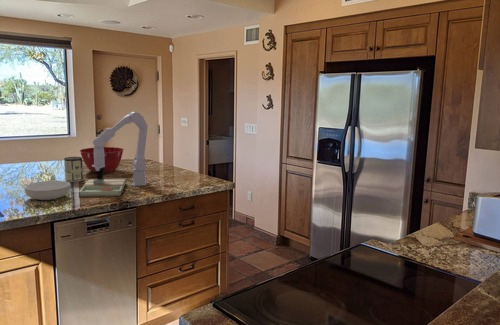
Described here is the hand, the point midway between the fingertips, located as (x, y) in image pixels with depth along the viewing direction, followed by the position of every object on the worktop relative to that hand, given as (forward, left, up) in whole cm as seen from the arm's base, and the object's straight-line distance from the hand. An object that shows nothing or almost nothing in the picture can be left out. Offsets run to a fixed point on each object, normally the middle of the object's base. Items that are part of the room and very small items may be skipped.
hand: (99, 180), depth 225 cm
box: (+15, +3, -4) cm, 15 cm away
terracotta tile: (+14, +6, -1) cm, 15 cm away
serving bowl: (+22, -22, -4) cm, 32 cm away
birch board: (0, +3, -4) cm, 5 cm away
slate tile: (+4, 0, -1) cm, 4 cm away
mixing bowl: (-46, -5, -4) cm, 46 cm away
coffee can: (-19, -18, -4) cm, 26 cm away
